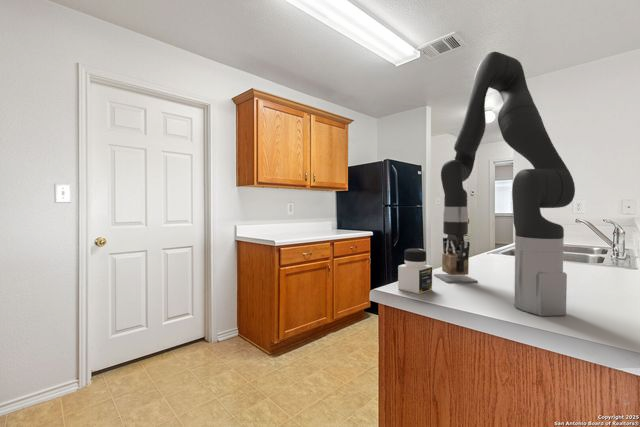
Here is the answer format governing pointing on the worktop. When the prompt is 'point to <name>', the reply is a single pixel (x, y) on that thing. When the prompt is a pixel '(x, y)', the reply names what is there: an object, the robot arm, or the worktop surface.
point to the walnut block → (452, 264)
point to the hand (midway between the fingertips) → (455, 270)
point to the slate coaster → (455, 278)
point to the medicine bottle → (415, 272)
